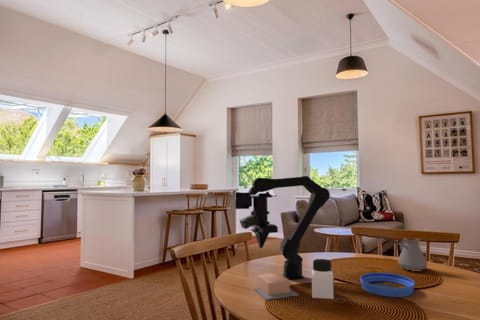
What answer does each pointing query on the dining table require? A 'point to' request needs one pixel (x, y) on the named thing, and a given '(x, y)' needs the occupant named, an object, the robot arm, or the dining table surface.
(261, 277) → the terracotta block
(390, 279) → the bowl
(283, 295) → the mat
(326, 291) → the medicine bottle
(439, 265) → the dining table surface
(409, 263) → the coffee pot
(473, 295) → the dining table surface
